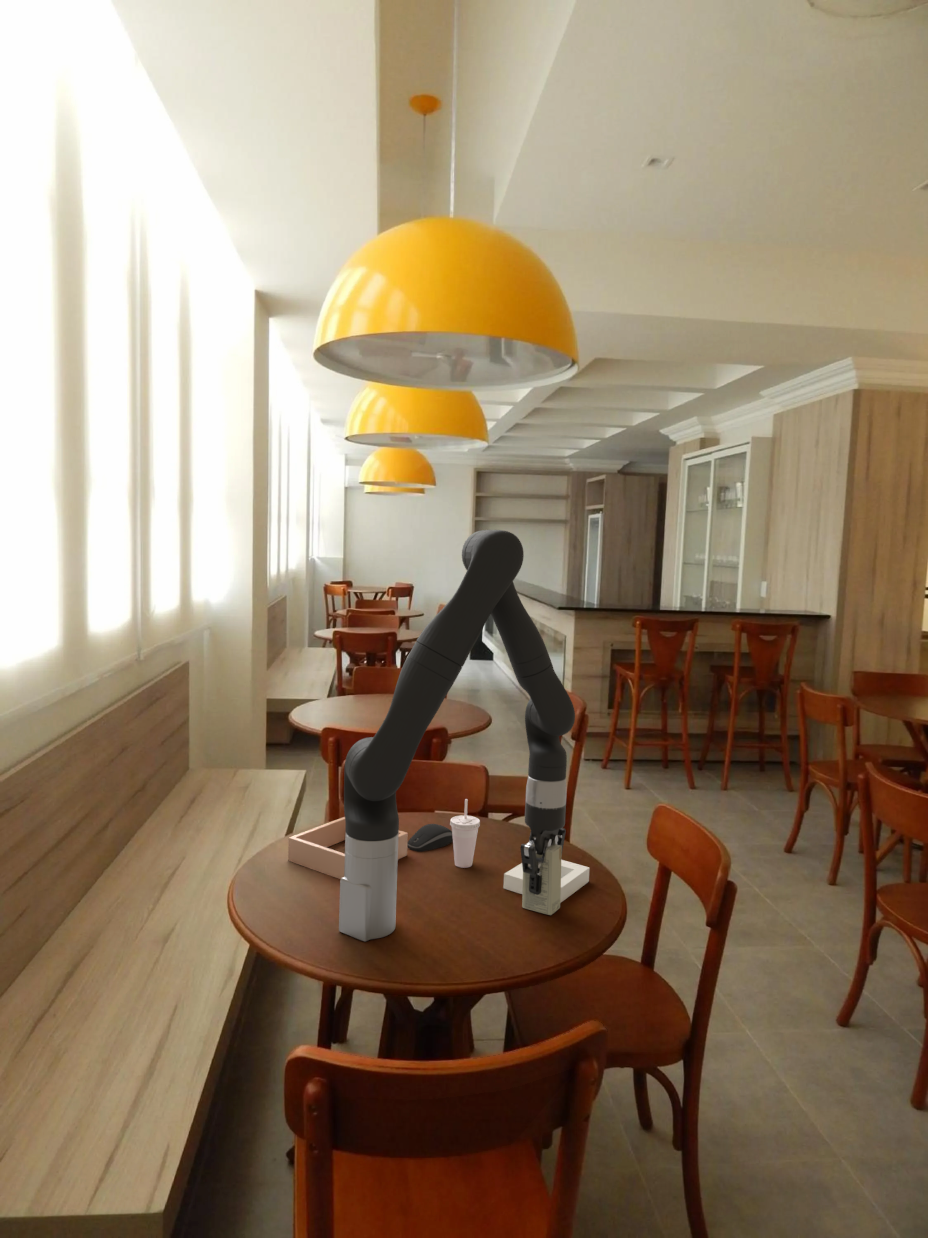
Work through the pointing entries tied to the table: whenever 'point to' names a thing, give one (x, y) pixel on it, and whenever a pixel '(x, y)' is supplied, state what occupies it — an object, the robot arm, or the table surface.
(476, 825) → the smoothie
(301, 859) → the pink square tray
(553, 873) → the skincare box
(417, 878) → the table surface
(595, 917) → the table surface
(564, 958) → the table surface
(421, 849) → the computer mouse
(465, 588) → the robot arm
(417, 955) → the table surface
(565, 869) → the socket board
